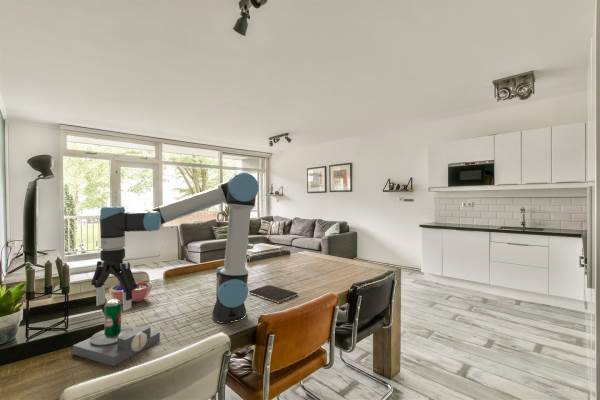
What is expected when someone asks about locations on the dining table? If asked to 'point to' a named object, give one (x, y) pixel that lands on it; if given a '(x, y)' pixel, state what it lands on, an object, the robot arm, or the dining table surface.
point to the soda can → (112, 318)
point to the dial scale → (118, 346)
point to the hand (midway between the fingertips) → (113, 306)
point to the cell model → (137, 293)
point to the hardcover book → (273, 293)
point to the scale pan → (103, 340)
